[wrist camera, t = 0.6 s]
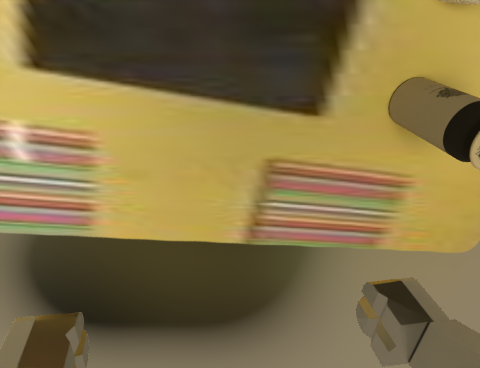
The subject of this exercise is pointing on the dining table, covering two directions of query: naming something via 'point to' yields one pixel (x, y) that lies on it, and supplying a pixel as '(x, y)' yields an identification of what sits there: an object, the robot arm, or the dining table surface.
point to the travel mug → (440, 117)
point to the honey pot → (463, 1)
